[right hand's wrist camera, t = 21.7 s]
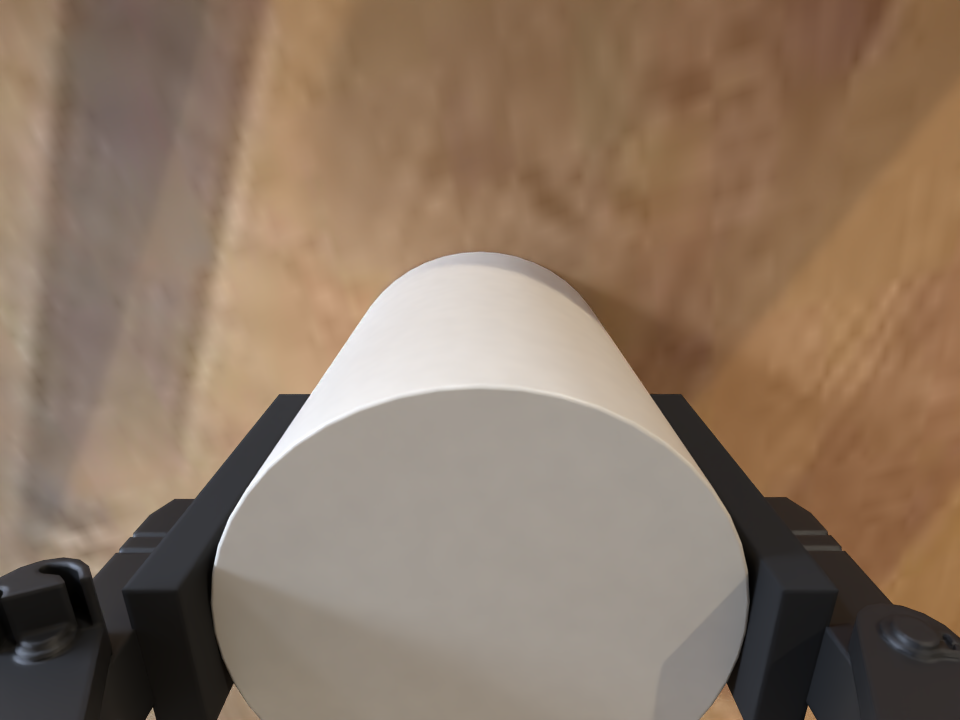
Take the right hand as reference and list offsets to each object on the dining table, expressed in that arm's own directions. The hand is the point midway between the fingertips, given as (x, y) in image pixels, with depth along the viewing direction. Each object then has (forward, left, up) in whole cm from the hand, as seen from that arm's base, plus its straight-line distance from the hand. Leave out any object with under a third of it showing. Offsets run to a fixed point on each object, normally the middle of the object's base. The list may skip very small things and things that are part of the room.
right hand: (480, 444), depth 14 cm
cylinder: (0, 0, -4) cm, 4 cm away
